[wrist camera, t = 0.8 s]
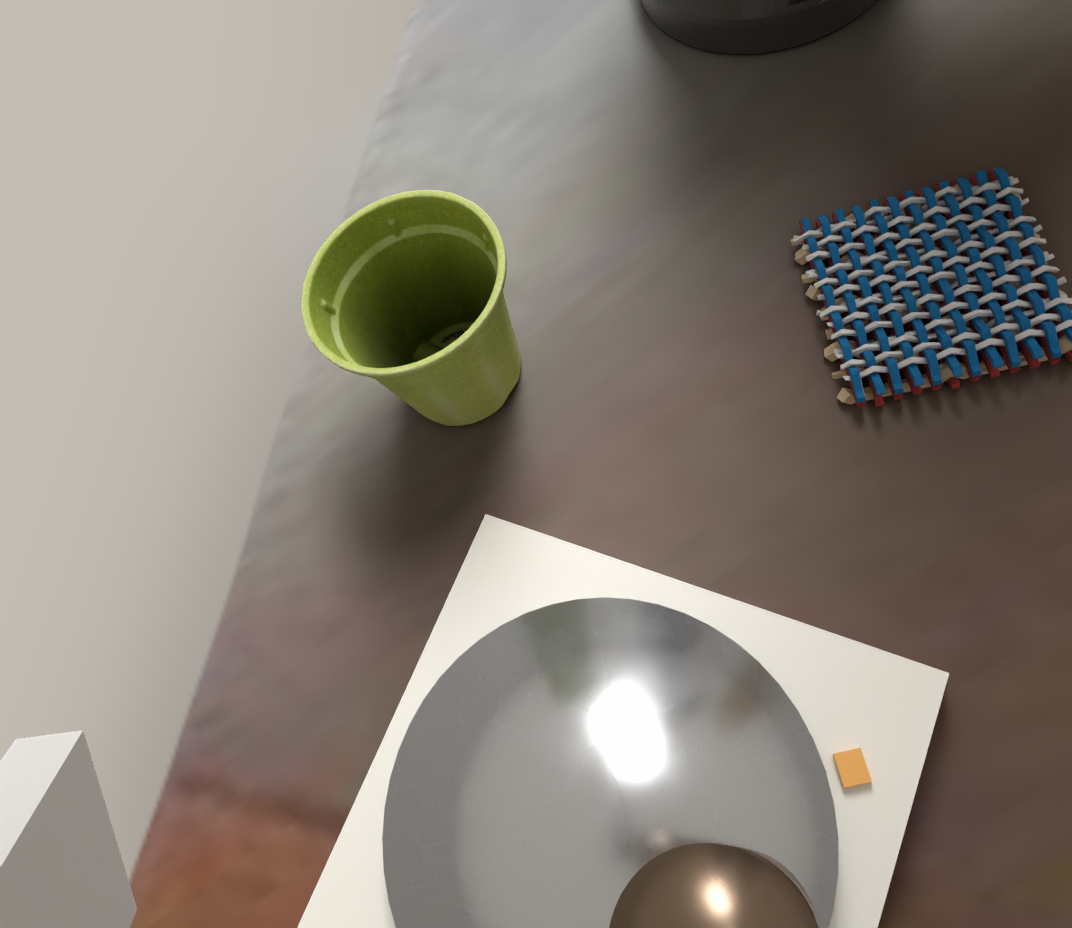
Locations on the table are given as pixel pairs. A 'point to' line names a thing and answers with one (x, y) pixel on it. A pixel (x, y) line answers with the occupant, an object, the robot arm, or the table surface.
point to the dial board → (775, 641)
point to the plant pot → (417, 304)
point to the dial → (609, 783)
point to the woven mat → (935, 288)
